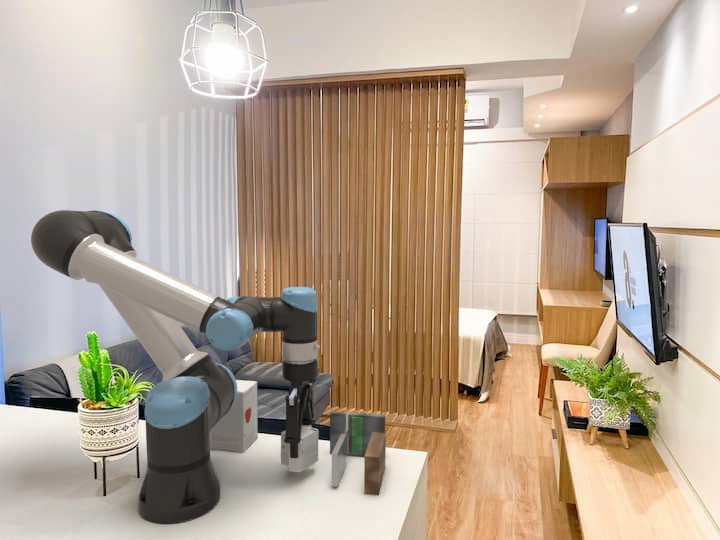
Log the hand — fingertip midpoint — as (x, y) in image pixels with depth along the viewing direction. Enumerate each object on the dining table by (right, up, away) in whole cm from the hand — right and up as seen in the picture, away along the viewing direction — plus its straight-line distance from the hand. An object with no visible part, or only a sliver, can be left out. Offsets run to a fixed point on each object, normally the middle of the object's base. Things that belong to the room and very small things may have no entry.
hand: (300, 461), depth 113 cm
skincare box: (0, 0, 0) cm, 1 cm away
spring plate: (+9, -2, +1) cm, 9 cm away
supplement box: (-18, -1, +15) cm, 24 cm away
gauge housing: (+11, -3, +1) cm, 12 cm away
